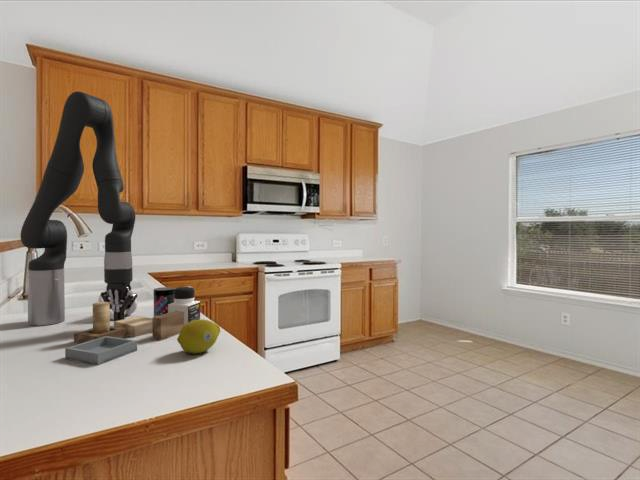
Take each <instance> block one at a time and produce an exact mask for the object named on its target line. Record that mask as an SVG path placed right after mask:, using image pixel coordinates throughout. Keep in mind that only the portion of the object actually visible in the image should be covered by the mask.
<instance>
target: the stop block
mask: <svg viewBox="0 0 640 480" xmlns="http://www.w3.org/2000/svg"><path fill="white" fill-rule="evenodd" d="M183 326H184V312H182V311H174V312H170V313H167V314H163V315H160V316H156V317H154V316H153V317H152V327H153V332H152V340H156V341H163V340H165V339H167V338H168V339H169V338H171V337H174V336H177V335H179V334H180V331H181V329H182V328H183Z"/></svg>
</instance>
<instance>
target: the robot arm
mask: <svg viewBox="0 0 640 480" xmlns="http://www.w3.org/2000/svg"><path fill="white" fill-rule="evenodd" d="M114 126H115V125H114V117H113V111H112V107H111V105H109V103H108V102H107V101H106V100H105V99H102V98H100V97H97V96H94V95H92V94H88V93H85V92H84V91H77V90H76V91H74V92H71V93H70V94H69V95H68V97H67V98H66V99H65V103H64V106H63V109H62V114H61V117H60V122H59V127H58V131H57V135H56V139H55V142H54V145H53V149H52V152H51V155H50V157H49V159H48V162H47V164H46V167H45V170H44V174H43V176H42V179H41V183H40V186H39V188H38V191H37V194H36V196H35V199H34V201H33V203H32V205H31V207H30V209H29V211H28V213H27V215H26V217H25V219H24V221H23V224H22V226H21V229H20V230H21V231H20V241H21V244H22V246H24V247H25V248H28V249H36V250H37V249H44V251H43V253H42V254H41V255H40V256H38V257H36V258H34V259H31V260H30V261H29V262H28V267H27V268H28V269H27V270H28V293H27V323H28V325H30V326H49V325H56V324H60V323H63V322H65V319H66V318H65V317H66V315H65V314H66V313H65V311H66V307H65V306H66V305H65V304H66V303H65V301H66V299H65V262H66V259H67V249H68V248H67V247H68V231H67V227H66V225H65V223H63V222H62V221H61V220H58V219H51V217H52V215H53V213H54V212H55V211H56V210H57V208H59V206H60V205H62V204H63V203H64V202H66V201H67V200H68V199H69V198H70V197H72V195H74V194H75V193H76V192H77V190H78V189H79V187H80V183H81V181H82V178H83V177H84V176H83V175H84V172H85V163H84V160H83V159H84V158H83V155H82V151H81V139H82V135H83V132H84V129H85V127H88V128H92V130H93V132H94V136H95V138H96V149H95V151H94V155H93V159H92V173H93V176H94V180H95V184H96V187H97V212H98V214H99V217H100V218H101V219H102V220H103V222H105V223H106V224H109V225H112V227H111V231H110V232H108V233H106V234H105V237H104V251H105V252H104V258H103V266H104V267H103V269H104V270H103V271H104V273H103V276H104V278H103V279H104V283H105V284H106V287H105V288H106V289H105V291H102V292H100V295H101V297H102V298H103V300H104V302H109V303H110V309H112V311H113V312H114V319H113V322H114V321H118V320H123V319H126V318H125V317H126V316H125V315H124V312H125V310H127V309H130V307H131V306H132V304H133V303H134V301H135V299H136V300H137V298H138V293H136V292H135V293H134V292H133V291H132V286H131V282H133V277H134V276H133V255H132V235H133V233H134V228H135V224H136V223H135V222H136V211H135V208H134V207H133V206H132V205H131V203H129V202H127V201H121V198H120V194H121V193H122V192H123V191H124V187H125V185H124V180H123V177H122V174H121V170H120V167H119V163H118V159H117V158H118V156H117V150H116V138H115V130H114V128H115V127H114ZM111 304H112V305H111Z"/></svg>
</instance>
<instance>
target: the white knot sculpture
mask: <svg viewBox="0 0 640 480" xmlns="http://www.w3.org/2000/svg"><path fill="white" fill-rule="evenodd" d="M97 301H98V303H99V302H104V300H103V298H102V297H101V294H100V295H99V296H98V299H97ZM111 305H112V304H111ZM137 308H138V300H137V298H136V299H135V301H134V303H133V304H132V306H131V307H130V309H127V310H125V312H124V316H125V315H126V316H129V315H132V314H133V313H135V312H136V310H137ZM110 320H114V312H113V311H112V309H110Z"/></svg>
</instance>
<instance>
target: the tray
mask: <svg viewBox="0 0 640 480" xmlns="http://www.w3.org/2000/svg"><path fill="white" fill-rule="evenodd" d="M64 350H65V351H64V352H65V353H64V354H65V355H64V357H65V358H64V359H65V360H70V361H75V362H80V363H86V364H90V365H95V366H99V365H102V364H105V363H107V362H111V361H113V360H116V359H118V358H120V357H121V358H122V357H123V356H126V355H129V354H131V353H134V352H137V351H138V340H137V339H136V340H135V339H129V338H116V337H110V336H105V337H101V338H98V339H94V340H91V341H88V342H84V343H81V344H80V343H77V344H75V345H71V346H68V347H65V348H64Z"/></svg>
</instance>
